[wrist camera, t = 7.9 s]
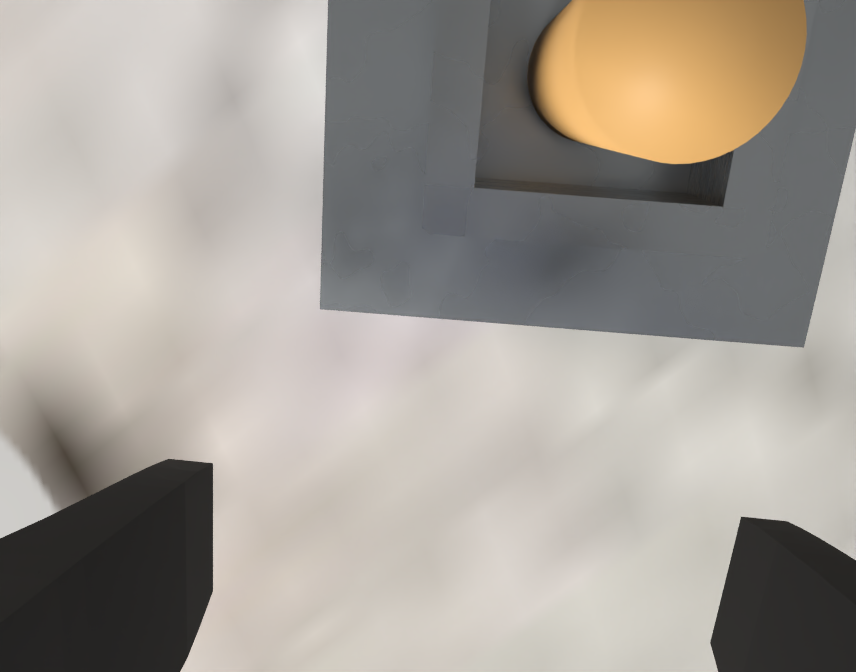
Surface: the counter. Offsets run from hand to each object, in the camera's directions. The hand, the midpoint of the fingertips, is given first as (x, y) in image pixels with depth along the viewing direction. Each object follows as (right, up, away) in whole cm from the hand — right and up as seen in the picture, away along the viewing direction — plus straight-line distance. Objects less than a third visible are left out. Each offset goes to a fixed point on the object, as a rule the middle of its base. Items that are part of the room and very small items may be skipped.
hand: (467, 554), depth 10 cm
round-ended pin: (+3, +9, +6) cm, 11 cm away
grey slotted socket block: (+3, +9, +7) cm, 12 cm away
